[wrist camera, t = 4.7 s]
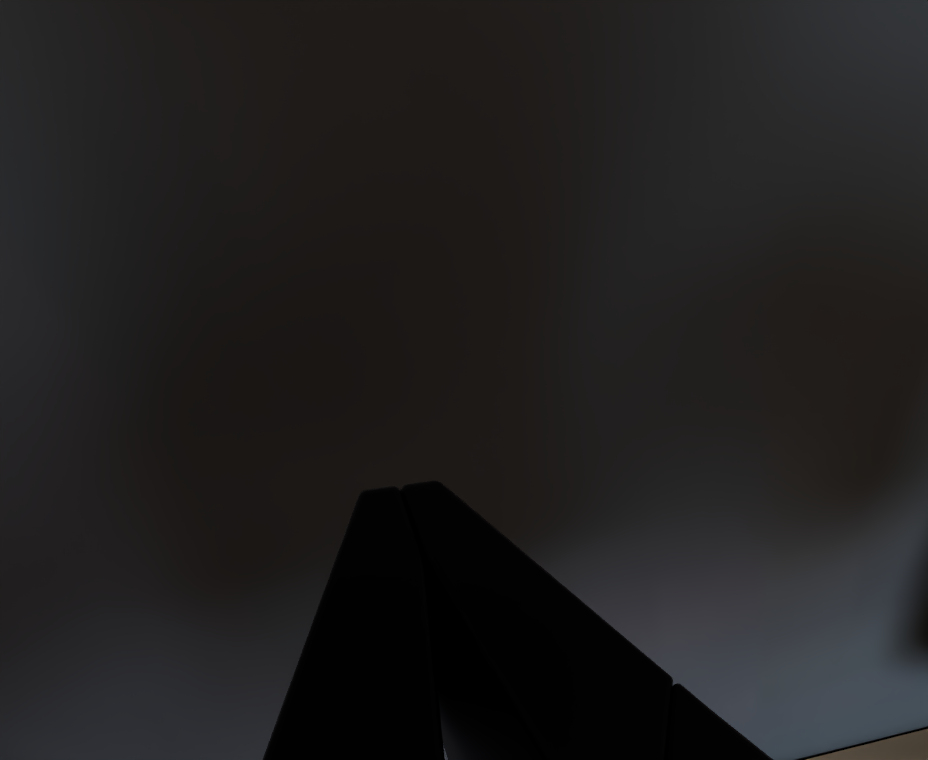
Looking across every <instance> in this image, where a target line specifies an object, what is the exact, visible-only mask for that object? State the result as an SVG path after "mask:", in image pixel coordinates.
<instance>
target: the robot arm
mask: <svg viewBox="0 0 928 760" xmlns="http://www.w3.org/2000/svg"><path fill="white" fill-rule="evenodd" d="M672 686H673V687H672ZM443 744H444V748H445V751H446V754H447V757H448V760H773V759H772V758H770V757H769V756H768V755H766V754H765V753H764V752H763V751H762V750H760V749H759V748H758V747H757V746H755V745H754V744H753V743H752V742H750V741H749V740H748V739H747V738H745V737H744V736H743V735H742V734H740V733H739V732H738V731H737V730H735V729H734V728H733V727H732V726H730V725H729V724H728V723H727V722H725V721H724V720H723V719H722V718H720V717H719V716H718V715H717V714H715V713H714V712H713V711H712V710H711V709H709V708H708V707H707V706H706V705H705V704H703V703H702V702H701V701H700V700H699V699H698V698H696V697H695V696H694V695H693V694H692V693H690V692H689V691H688V690H687V689H686V688H684V687H683V686H682V685H681V684H678V683H677V684H674V685H673V679H672V677H671V676H670V675H669V674H667V673H666V672H665V671H664V670H663V669H661V668H660V667H659V666H658V665H657V664H656V663H654V662H653V661H652V660H651V659H650V658H648V657H647V656H646V655H645V654H644V653H642V652H641V651H640V650H639V649H638V648H637V647H635V646H634V645H633V644H632V643H631V642H629V641H628V640H627V639H626V638H625V637H624V636H622V635H621V634H620V633H619V632H618V631H616V630H615V629H614V628H613V627H612V626H610V625H609V624H608V623H607V622H606V621H605V620H603V619H602V618H601V617H600V616H599V615H597V614H596V613H595V612H594V611H593V610H592V609H590V608H589V607H588V606H587V605H586V604H584V603H583V602H582V601H581V600H580V599H578V598H577V597H576V596H575V595H574V594H573V593H571V592H570V591H569V590H568V589H567V588H565V587H564V586H563V585H562V584H561V583H560V582H558V581H557V580H556V579H555V578H554V577H552V576H551V575H550V574H549V573H548V572H546V571H545V570H544V569H543V568H542V567H541V566H539V565H538V564H537V563H536V562H535V561H533V560H532V559H531V558H530V557H529V556H528V555H526V554H525V553H524V552H523V551H522V550H520V549H519V548H518V547H517V546H516V545H514V544H513V543H512V542H511V541H510V540H509V539H507V538H506V537H505V536H504V535H503V534H501V533H500V532H499V531H498V530H497V529H495V528H494V527H493V526H492V525H491V524H490V523H488V522H487V521H486V520H485V519H484V518H482V517H481V516H480V515H479V514H478V513H477V512H475V511H474V510H473V509H472V508H471V507H469V506H468V505H467V504H466V503H465V502H463V501H462V500H461V499H460V498H459V497H458V496H456V495H455V494H454V493H453V492H452V491H450V490H449V489H448V488H447V487H446V486H445V485H443V484H442V483H440V482H438V481H428V482H421V483H414V484H407V485H404V486H403V487H402V489H401V491H400V490H399V489H398V488H397V487H385V488H378V489H371V490H365V491H363V492H361V494H360V495H359V497H358V499H357V502H356V505H355V508H354V510H353V513H352V516H351V518H350V521H349V524H348V527H347V529H346V532H345V535H344V538H343V540H342V543H341V546H340V549H339V551H338V554H337V557H336V560H335V562H334V565H333V568H332V571H331V573H330V576H329V579H328V582H327V584H326V587H325V590H324V593H323V595H322V598H321V601H320V604H319V606H318V609H317V612H316V615H315V617H314V620H313V623H312V625H311V628H310V631H309V634H308V636H307V639H306V642H305V645H304V647H303V650H302V653H301V656H300V658H299V661H298V664H297V667H296V669H295V672H294V675H293V678H292V680H291V683H290V686H289V689H288V691H287V694H286V697H285V700H284V702H283V705H282V708H281V711H280V713H279V716H278V719H277V721H276V724H275V727H274V730H273V732H272V735H271V738H270V741H269V743H268V746H267V749H266V752H265V754H264V757H263V760H445V759H444V749H443Z"/></svg>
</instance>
